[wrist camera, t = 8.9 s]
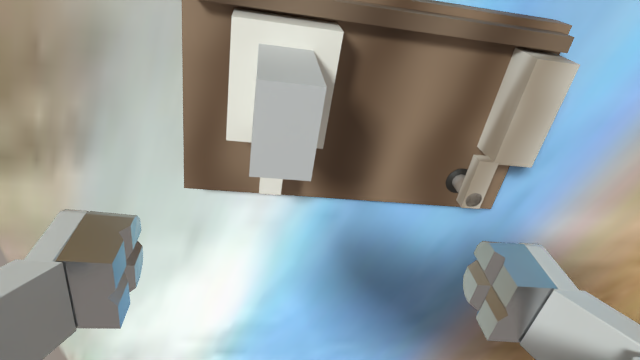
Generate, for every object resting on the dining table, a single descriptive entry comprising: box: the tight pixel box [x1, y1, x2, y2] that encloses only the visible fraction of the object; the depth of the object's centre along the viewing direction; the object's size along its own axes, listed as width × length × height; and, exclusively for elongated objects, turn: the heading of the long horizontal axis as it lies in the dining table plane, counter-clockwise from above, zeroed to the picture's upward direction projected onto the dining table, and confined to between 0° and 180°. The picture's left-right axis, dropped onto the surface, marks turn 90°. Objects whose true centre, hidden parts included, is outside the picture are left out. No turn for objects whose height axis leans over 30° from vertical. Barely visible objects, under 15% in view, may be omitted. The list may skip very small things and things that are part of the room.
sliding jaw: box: [226, 8, 344, 195], centre depth 20 cm, size 5×9×7 cm, turn 171°
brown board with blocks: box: [182, 0, 580, 209], centre depth 23 cm, size 20×12×4 cm, turn 81°
